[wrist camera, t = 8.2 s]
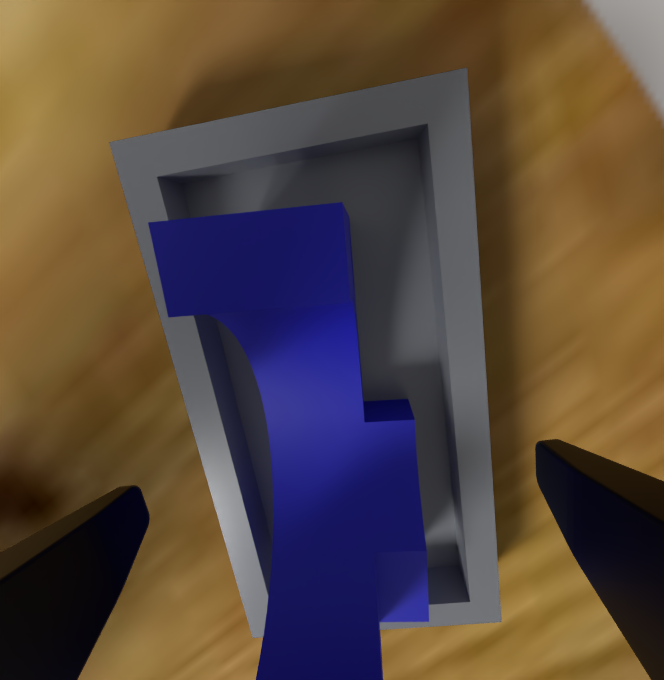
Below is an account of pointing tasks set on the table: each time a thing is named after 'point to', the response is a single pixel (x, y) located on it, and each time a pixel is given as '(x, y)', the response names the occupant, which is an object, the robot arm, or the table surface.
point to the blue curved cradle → (312, 433)
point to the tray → (371, 305)
